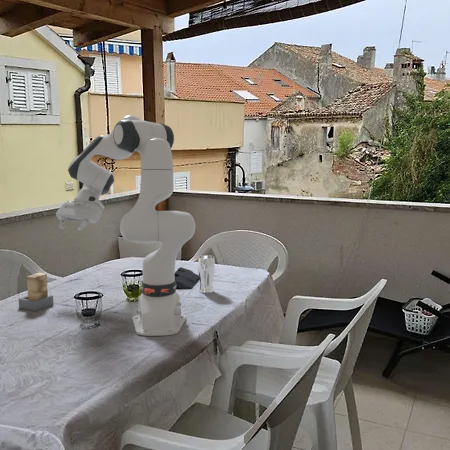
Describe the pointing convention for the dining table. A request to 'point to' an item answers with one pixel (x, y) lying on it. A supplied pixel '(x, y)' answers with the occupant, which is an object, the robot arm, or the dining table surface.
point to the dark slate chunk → (186, 278)
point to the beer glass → (206, 273)
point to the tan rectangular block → (37, 286)
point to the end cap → (35, 303)
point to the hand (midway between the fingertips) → (69, 228)
